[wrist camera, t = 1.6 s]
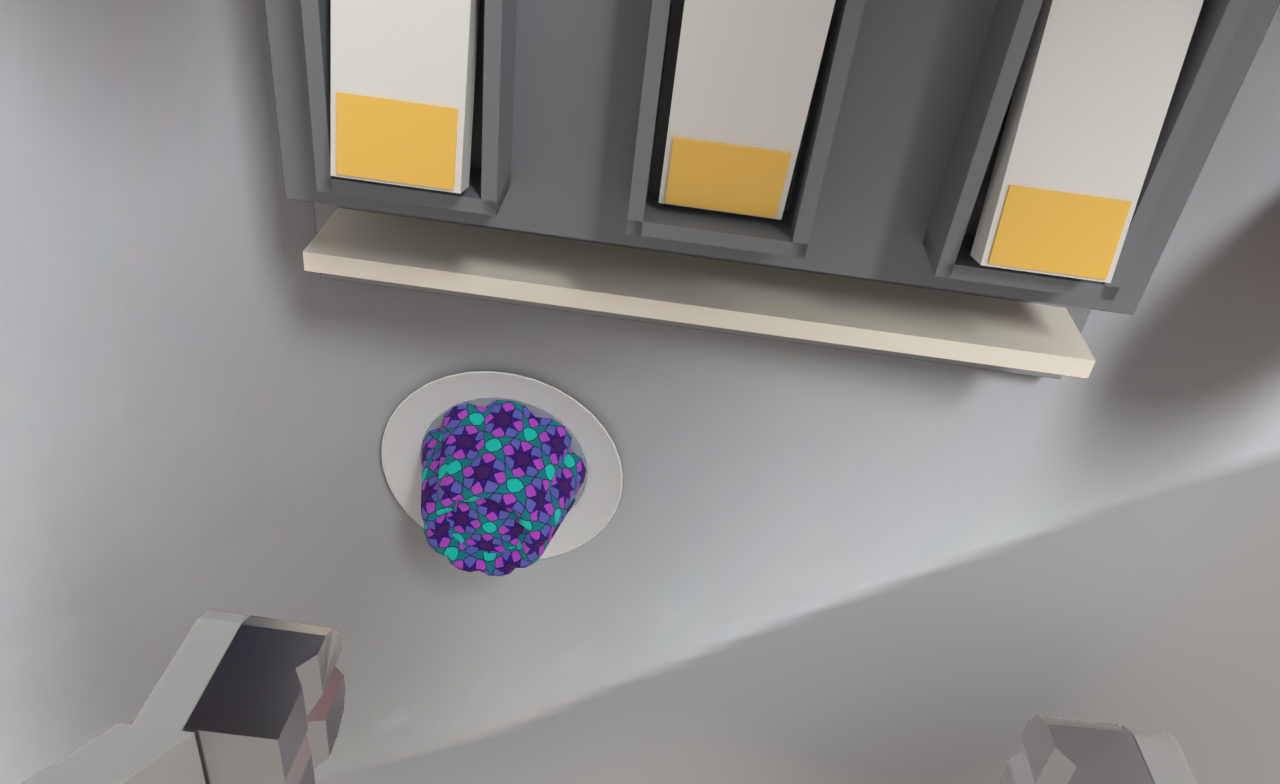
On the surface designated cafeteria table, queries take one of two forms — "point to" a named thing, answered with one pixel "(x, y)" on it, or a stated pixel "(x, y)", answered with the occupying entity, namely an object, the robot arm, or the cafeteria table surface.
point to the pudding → (500, 471)
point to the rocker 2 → (741, 102)
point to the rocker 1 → (403, 91)
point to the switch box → (734, 243)
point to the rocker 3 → (1082, 134)
